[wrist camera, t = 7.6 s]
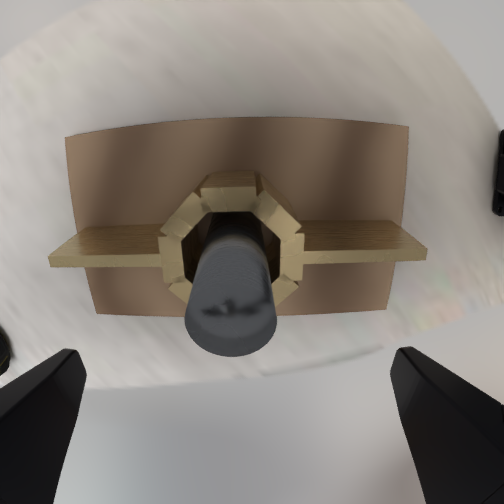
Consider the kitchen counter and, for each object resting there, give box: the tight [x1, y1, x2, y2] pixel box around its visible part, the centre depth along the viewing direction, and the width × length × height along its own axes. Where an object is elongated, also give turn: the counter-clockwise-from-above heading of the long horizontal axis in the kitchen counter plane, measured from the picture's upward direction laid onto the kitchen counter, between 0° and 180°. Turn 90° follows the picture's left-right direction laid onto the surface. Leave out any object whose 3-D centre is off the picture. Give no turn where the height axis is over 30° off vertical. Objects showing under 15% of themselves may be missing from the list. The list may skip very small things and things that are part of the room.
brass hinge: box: [48, 171, 428, 307], centre depth 16 cm, size 19×6×4 cm, turn 91°
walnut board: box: [65, 117, 409, 317], centre depth 18 cm, size 20×12×1 cm, turn 91°
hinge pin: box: [185, 211, 277, 357], centre depth 14 cm, size 3×3×9 cm
